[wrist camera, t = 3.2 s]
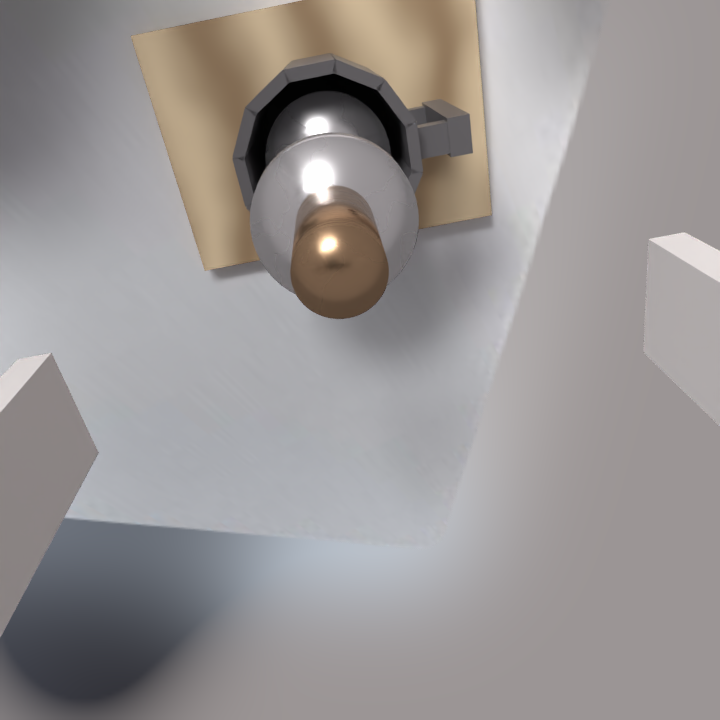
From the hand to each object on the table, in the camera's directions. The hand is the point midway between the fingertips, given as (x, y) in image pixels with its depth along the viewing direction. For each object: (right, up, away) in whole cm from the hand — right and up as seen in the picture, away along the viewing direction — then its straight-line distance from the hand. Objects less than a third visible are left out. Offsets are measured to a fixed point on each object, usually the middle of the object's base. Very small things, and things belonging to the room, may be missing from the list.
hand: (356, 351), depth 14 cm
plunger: (-2, +11, +20) cm, 23 cm away
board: (-2, +16, +30) cm, 34 cm away
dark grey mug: (-1, +16, +29) cm, 33 cm away
